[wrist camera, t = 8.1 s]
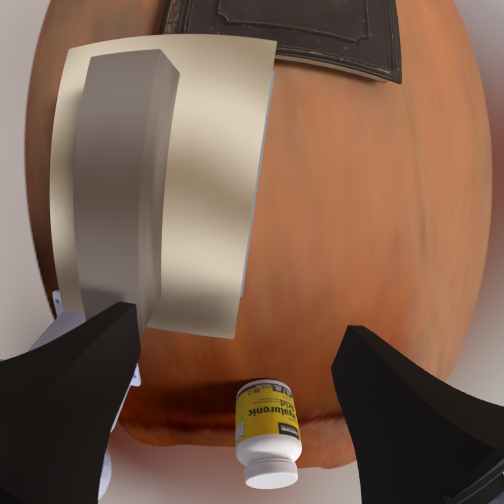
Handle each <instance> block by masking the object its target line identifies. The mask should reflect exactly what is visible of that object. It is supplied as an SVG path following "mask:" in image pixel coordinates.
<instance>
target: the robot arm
mask: <svg viewBox="0 0 504 504" xmlns="http://www.w3.org/2000/svg"><path fill="white" fill-rule="evenodd" d="M52 295H53V300H54V305H55V309H56V313H57V318H56V319H55V321H54V322H53V323H52V324H51V325H50V326H49V327H48V328H47V330H46V331H45V332H44V333H43V334H42V335H41V336H40V338H39V339H38V340H37V341H36V342H35V344H34V345H33V346H32V347H31V349H30V350H29V351H28V352H26V353H24V354H21V355H19V356H16V357H13V358H10V359H7V360H2V359H0V504H98V500H99V499H100V498H101V497H102V496H103V494H104V492H105V491H106V489H107V487H108V484H109V481H110V477H111V460H110V455H109V452H108V450H107V444H108V439H109V435H110V433H111V432H112V430H113V429H114V427H115V425H116V422H117V419H118V416H119V414H120V411H121V408H122V405H123V403H124V400H125V398H126V395H127V392H128V390H129V387H130V385H134V386H140V384H141V379H140V374H139V368H138V359H139V356H140V352H141V347H140V339H139V330H138V320H137V308H136V304H133V303H127V302H122V301H119V302H117V303H115V304H113V305H112V306H110V307H108V308H107V309H105V310H103V311H102V312H100V313H99V314H97V315H95V316H94V317H92V318H90V319H89V320H87V321H86V318H85V314H83V313H79V312H75V311H71V310H68V309H64V308H63V307H62V302H61V297H60V292H59V290H55V291H53V293H52ZM58 300H59V301H58ZM331 370H332V376H333V382H334V386H335V391H336V394H337V397H338V400H339V403H340V406H341V409H342V412H343V415H344V418H345V420H346V423H347V426H348V429H349V432H350V435H351V438H352V441H353V445H354V449H355V453H356V459H357V464H358V470H359V478H360V485H361V497H362V504H504V474H503V472H504V407H503V406H499V405H496V404H493V403H489V402H486V401H484V400H480V399H478V398H476V397H473V396H471V395H468V394H466V393H464V392H462V391H460V390H457V389H456V388H454V387H451V386H450V385H448V384H446V383H445V382H443V381H441V380H439V379H438V378H436V377H434V376H433V375H431V374H430V373H428V372H427V371H425V370H424V369H422V368H421V367H419V366H418V365H416V364H415V363H413V362H412V361H411V360H409V359H408V358H407V357H405V356H404V355H403V354H401V353H400V352H399V351H397V350H396V349H395V348H393V347H392V346H391V345H389V344H388V343H387V342H385V341H384V340H383V339H381V338H380V337H379V336H377V335H376V334H375V333H373V332H372V331H370V330H369V329H367V328H366V327H364V326H353V325H348V326H347V329H346V332H345V334H344V337H343V340H342V342H341V345H340V347H339V350H338V352H337V355H336V357H335V360H334V362H333V364H332V367H331Z"/></svg>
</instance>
